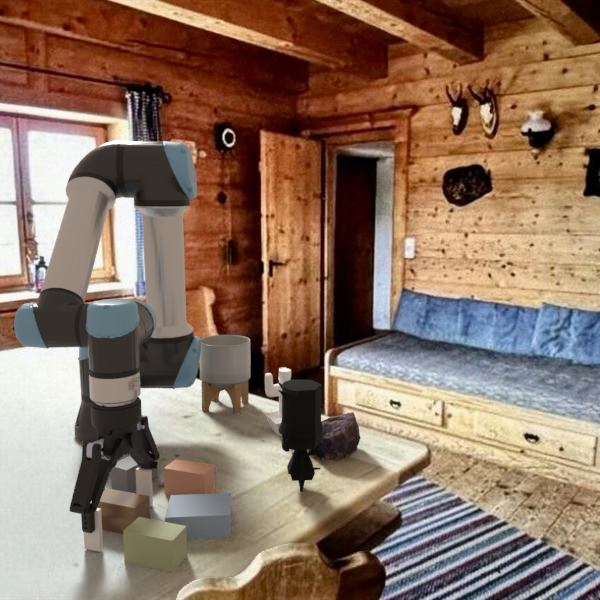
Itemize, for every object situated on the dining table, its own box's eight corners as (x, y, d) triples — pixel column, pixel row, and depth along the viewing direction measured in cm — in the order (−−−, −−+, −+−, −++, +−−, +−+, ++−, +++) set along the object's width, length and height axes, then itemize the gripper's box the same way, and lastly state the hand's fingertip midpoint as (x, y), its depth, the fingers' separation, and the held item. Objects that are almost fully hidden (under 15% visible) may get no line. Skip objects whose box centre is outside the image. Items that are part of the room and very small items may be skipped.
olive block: (124, 562, 82) (123, 530, 82) (140, 547, 86) (138, 516, 85) (173, 573, 80) (172, 540, 79) (187, 557, 84) (186, 526, 83)
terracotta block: (164, 494, 102) (163, 468, 101) (175, 484, 106) (175, 459, 105) (204, 501, 100) (204, 474, 99) (214, 490, 104) (214, 465, 103)
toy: (275, 479, 108) (275, 377, 105) (323, 477, 109) (325, 377, 106) (277, 501, 100) (278, 392, 97) (329, 499, 101) (331, 391, 98)
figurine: (309, 433, 130) (310, 370, 128) (271, 440, 126) (271, 375, 124) (296, 423, 137) (296, 362, 134) (259, 429, 133) (259, 367, 130)
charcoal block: (127, 496, 101) (126, 470, 100) (111, 491, 103) (110, 465, 102) (158, 478, 108) (157, 453, 107) (142, 473, 110) (141, 449, 109)
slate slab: (165, 541, 88) (165, 517, 87) (171, 517, 95) (170, 495, 94) (230, 538, 89) (230, 514, 88) (231, 514, 96) (231, 492, 95)
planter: (192, 404, 149) (190, 338, 146) (234, 395, 157) (234, 332, 154) (215, 419, 139) (214, 348, 136) (260, 408, 146) (259, 341, 144)
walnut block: (92, 528, 91) (91, 499, 90) (108, 516, 95) (107, 488, 94) (136, 537, 89) (134, 508, 88) (150, 524, 92) (149, 496, 92)
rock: (305, 457, 121) (330, 475, 112) (299, 420, 119) (324, 435, 110) (350, 439, 126) (377, 454, 117) (345, 403, 124) (372, 416, 116)
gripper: (83, 430, 75) (90, 576, 78) (177, 379, 99) (180, 493, 102) (37, 423, 78) (45, 565, 81) (140, 375, 101) (144, 487, 104)
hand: (121, 525), depth 91 cm, fingers open, 13 cm apart
